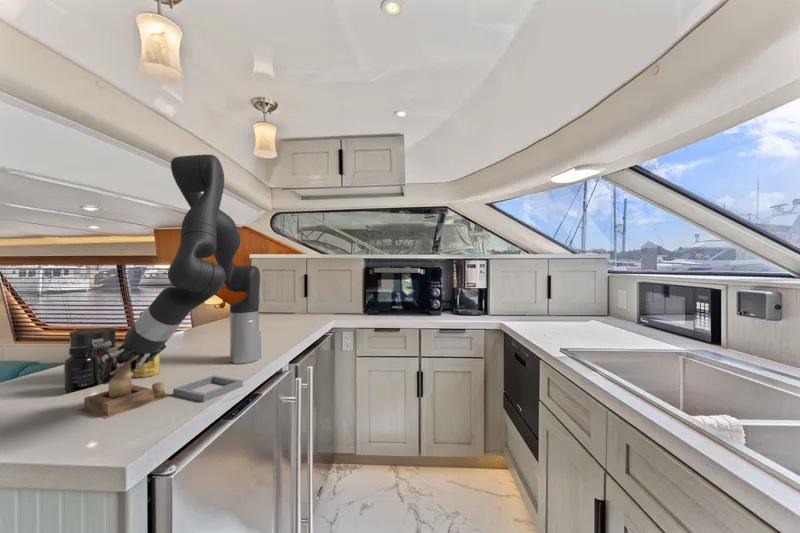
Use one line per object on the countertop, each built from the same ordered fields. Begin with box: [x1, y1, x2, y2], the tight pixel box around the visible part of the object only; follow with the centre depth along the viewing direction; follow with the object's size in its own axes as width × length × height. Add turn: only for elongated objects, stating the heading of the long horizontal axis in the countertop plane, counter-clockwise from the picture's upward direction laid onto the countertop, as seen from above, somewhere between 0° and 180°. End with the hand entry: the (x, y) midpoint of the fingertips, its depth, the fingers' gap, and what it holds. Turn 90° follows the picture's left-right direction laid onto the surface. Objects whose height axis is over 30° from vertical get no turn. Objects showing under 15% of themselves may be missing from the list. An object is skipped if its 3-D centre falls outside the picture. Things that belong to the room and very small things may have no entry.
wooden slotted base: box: [77, 381, 173, 420], centre depth 79 cm, size 14×11×4 cm
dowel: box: [108, 345, 132, 399], centre depth 77 cm, size 4×4×13 cm
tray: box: [172, 375, 244, 403], centre depth 86 cm, size 11×11×3 cm
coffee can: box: [68, 327, 117, 382], centre depth 101 cm, size 10×10×14 cm
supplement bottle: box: [63, 344, 100, 395], centre depth 90 cm, size 7×7×12 cm
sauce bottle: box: [132, 311, 161, 379], centre depth 99 cm, size 6×6×20 cm
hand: (113, 377), depth 78 cm, fingers closed on dowel, 4 cm apart
